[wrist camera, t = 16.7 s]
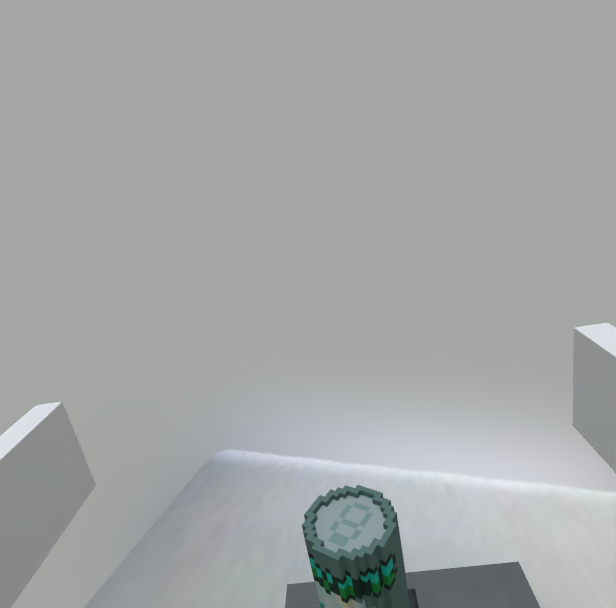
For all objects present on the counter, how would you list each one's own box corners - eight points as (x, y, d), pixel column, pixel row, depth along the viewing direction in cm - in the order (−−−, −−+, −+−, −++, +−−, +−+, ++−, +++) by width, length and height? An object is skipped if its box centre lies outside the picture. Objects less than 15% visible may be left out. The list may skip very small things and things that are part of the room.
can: (323, 687, 34) (286, 536, 29) (361, 617, 38) (334, 477, 34) (397, 736, 30) (367, 573, 26) (429, 653, 35) (409, 501, 30)
